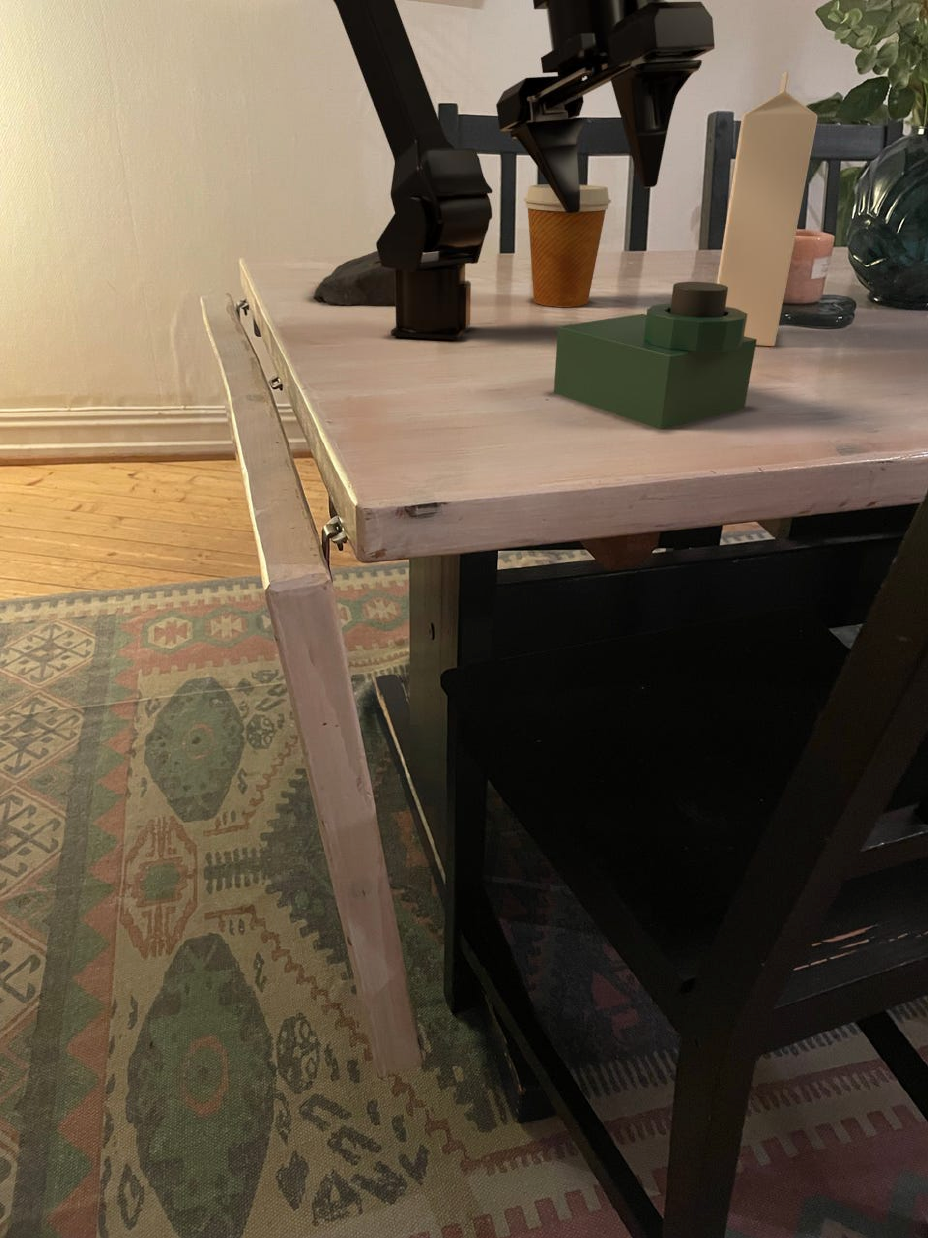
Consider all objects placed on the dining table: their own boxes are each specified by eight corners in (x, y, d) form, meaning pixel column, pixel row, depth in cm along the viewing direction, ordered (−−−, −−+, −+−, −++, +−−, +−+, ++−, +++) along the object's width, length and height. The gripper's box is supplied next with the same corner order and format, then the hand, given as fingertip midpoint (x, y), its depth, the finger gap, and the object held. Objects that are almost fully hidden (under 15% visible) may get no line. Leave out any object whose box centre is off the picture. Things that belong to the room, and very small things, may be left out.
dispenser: (553, 393, 66) (559, 297, 63) (635, 376, 71) (645, 286, 67) (674, 435, 58) (690, 327, 54) (758, 412, 62) (777, 312, 59)
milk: (709, 343, 82) (748, 70, 71) (709, 330, 87) (746, 73, 76) (776, 347, 81) (826, 69, 70) (772, 333, 86) (818, 72, 75)
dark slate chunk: (444, 275, 116) (444, 237, 113) (446, 306, 97) (446, 260, 94) (330, 274, 115) (327, 236, 113) (309, 305, 96) (306, 259, 94)
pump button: (658, 315, 59) (662, 284, 58) (693, 310, 61) (697, 279, 60) (699, 324, 57) (704, 292, 56) (734, 318, 59) (739, 287, 58)
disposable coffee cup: (615, 300, 101) (625, 186, 95) (579, 312, 94) (588, 190, 88) (543, 292, 105) (549, 182, 99) (504, 303, 98) (508, 186, 92)
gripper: (764, -101, 57) (779, 160, 62) (590, 12, 72) (613, 213, 77) (634, -109, 52) (662, 175, 57) (478, 15, 68) (511, 228, 73)
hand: (609, 200), depth 66 cm, fingers open, 9 cm apart
